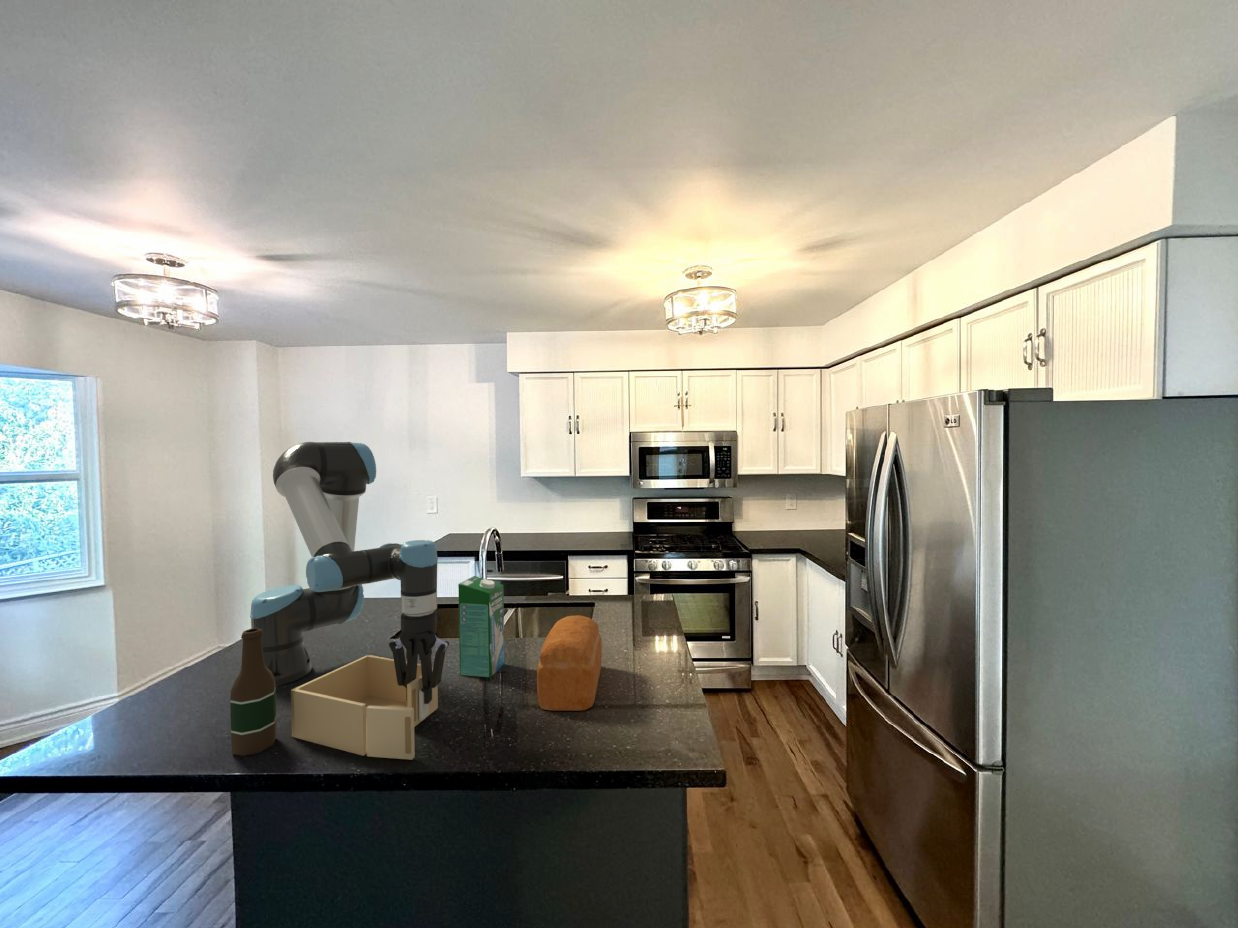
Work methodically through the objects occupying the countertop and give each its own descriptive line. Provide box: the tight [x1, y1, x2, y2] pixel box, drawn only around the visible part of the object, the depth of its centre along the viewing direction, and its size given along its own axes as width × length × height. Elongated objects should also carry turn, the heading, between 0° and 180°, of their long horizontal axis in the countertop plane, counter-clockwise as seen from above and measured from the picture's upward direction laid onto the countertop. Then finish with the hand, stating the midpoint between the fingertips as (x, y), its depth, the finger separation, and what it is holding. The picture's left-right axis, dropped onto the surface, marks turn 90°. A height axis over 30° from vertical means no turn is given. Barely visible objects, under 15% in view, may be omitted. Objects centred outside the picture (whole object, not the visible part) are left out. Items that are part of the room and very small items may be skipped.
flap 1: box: [366, 706, 416, 761], centre depth 99 cm, size 1×9×10 cm, turn 83°
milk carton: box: [457, 575, 505, 678], centre depth 140 cm, size 9×9×25 cm
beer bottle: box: [229, 628, 278, 757], centre depth 104 cm, size 8×8×24 cm
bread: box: [536, 614, 603, 712], centre depth 130 cm, size 14×26×16 cm, turn 177°
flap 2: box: [407, 668, 439, 728], centre depth 114 cm, size 1×9×10 cm, turn 165°
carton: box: [290, 654, 433, 756], centre depth 113 cm, size 20×20×10 cm
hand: (419, 716), depth 112 cm, fingers open, 1 cm apart
